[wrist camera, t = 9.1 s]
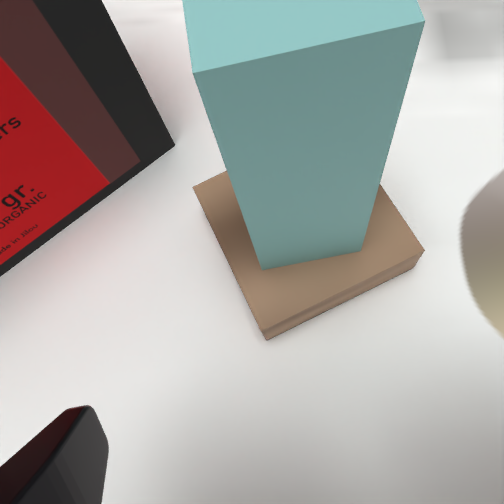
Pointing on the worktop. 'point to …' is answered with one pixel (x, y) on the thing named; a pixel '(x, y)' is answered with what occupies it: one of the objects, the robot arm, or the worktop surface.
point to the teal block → (303, 112)
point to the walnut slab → (311, 272)
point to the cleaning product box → (66, 119)
